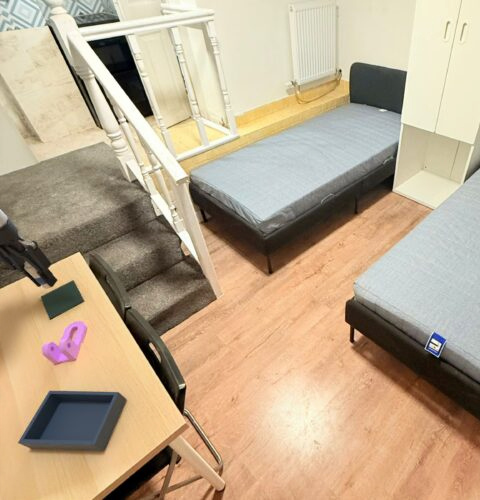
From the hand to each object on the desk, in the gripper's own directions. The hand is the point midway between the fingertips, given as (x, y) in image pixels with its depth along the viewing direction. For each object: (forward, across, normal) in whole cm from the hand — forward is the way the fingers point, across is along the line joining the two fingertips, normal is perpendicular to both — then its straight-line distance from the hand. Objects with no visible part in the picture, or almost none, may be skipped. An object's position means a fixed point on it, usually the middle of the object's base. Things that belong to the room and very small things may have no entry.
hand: (47, 283), depth 103 cm
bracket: (+8, +12, -15) cm, 21 cm away
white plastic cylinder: (+1, 0, 0) cm, 1 cm away
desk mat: (+8, 0, 0) cm, 8 cm away
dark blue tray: (+8, +27, -37) cm, 47 cm away
